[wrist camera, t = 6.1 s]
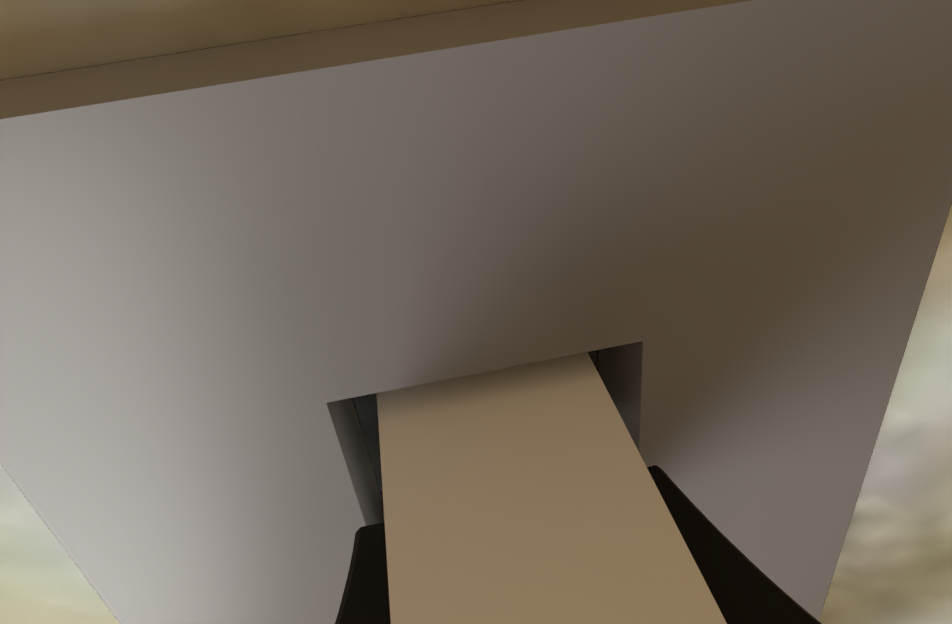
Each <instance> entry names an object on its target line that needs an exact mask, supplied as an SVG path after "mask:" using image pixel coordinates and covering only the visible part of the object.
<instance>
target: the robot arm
mask: <svg viewBox="0 0 952 624" xmlns="http://www.w3.org/2000/svg"><path fill="white" fill-rule="evenodd" d="M647 469H648V471H649V473H650V475H651V477H652V479H653V481H654V482H655V484H656V486H657V488H658V490H659V492H660V494H661V496H662V498H663V500H664V502H665V504H666V506H667V508H668V510H669V512H670V514H671V516H672V518H673V520H674V521H675V523H676V525H677V527H678V529H679V531H680V533H681V535H682V537H683V539H684V541H685V543H686V545H687V547H688V549H689V551H690V553H691V555H692V557H693V558H694V560H695V562H696V564H697V566H698V568H699V570H700V572H701V574H702V576H703V578H704V580H705V582H706V584H707V586H708V588H709V590H710V592H711V594H712V596H713V597H714V599H715V601H716V603H717V605H718V607H719V609H720V611H721V613H722V615H723V617H724V619H725V621H726V623H727V624H821V623H820V622H819V621H818V620H817V619H815V618H814V617H813V616H812V615H811V614H809V613H808V612H807V611H806V610H805V609H804V608H802V607H801V606H800V605H799V604H798V603H797V602H795V601H794V600H793V599H792V598H791V597H790V596H789V595H787V594H786V593H785V592H784V591H783V590H782V589H781V588H779V587H778V586H777V585H776V584H775V583H774V582H773V581H772V580H771V579H769V578H768V577H767V576H766V575H765V574H764V573H763V572H762V571H761V570H760V569H759V568H758V567H756V566H755V565H754V564H753V563H752V562H751V561H750V560H749V559H748V558H747V557H746V556H745V555H744V554H743V553H742V552H741V551H740V550H739V549H738V548H737V547H736V546H734V545H733V544H732V543H731V542H730V541H729V540H728V539H727V538H726V537H725V536H724V535H723V534H722V533H721V532H720V531H719V530H718V529H717V528H716V527H715V526H714V525H713V524H712V523H711V522H710V521H709V520H708V519H707V517H706V516H705V515H704V514H703V513H702V512H701V511H700V510H699V509H698V508H697V507H696V506H695V505H694V504H693V503H692V502H691V501H690V500H689V499H688V497H687V496H686V495H685V494H684V493H683V492H682V491H681V490H680V489H679V488H678V487H677V485H676V484H675V483H674V482H673V481H672V480H671V479H670V478H669V476H668V475H667V474H666V473H665V472H664V471H663V470H662V469H661V468H660V467H658V466H657V465H654V466H649V467H647ZM335 624H391V620H390V603H389V587H388V571H387V554H386V538H385V522H382V523H377V524H373V525H368V526H363V527H360V528H359V529H358V531H357V532H356V533H355V540H354V546H353V552H352V557H351V562H350V567H349V572H348V576H347V580H346V585H345V588H344V592H343V596H342V600H341V604H340V608H339V612H338V615H337V618H336V622H335Z"/></svg>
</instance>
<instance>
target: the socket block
mask: <svg viewBox="0 0 952 624" xmlns="http://www.w3.org/2000/svg"><path fill="white" fill-rule="evenodd" d="M951 204H952V0H520V1H514V2H507V3H501V4H494V5H488V6H481V7H475V8H468V9H462V10H455V11H449V12H442V13H436V14H429V15H423V16H416V17H410V18H403V19H397V20H390V21H384V22H377V23H371V24H364V25H358V26H351V27H345V28H338V29H332V30H325V31H319V32H312V33H306V34H299V35H293V36H286V37H280V38H273V39H267V40H260V41H254V42H247V43H241V44H234V45H228V46H221V47H215V48H208V49H202V50H195V51H189V52H182V53H176V54H169V55H163V56H157V57H150V58H144V59H137V60H131V61H124V62H118V63H111V64H105V65H98V66H92V67H85V68H79V69H72V70H66V71H59V72H53V73H46V74H40V75H33V76H27V77H20V78H14V79H7V80H1V81H0V464H1V466H2V467H3V468H4V470H5V471H6V472H7V474H8V475H9V476H10V478H11V479H12V480H13V482H14V483H15V484H16V486H17V487H18V488H19V490H20V491H21V492H22V494H23V495H24V497H25V498H26V499H27V501H28V502H29V503H30V505H31V506H32V507H33V509H34V510H35V511H36V513H37V514H38V515H39V517H40V518H41V519H42V521H43V522H44V523H45V525H46V526H47V527H48V529H49V530H50V531H51V533H52V534H53V535H54V537H55V538H56V539H57V541H58V542H59V543H60V545H61V546H62V547H63V549H64V550H65V551H66V553H67V554H68V555H69V557H70V558H71V559H72V561H73V562H74V563H75V565H76V566H77V567H78V569H79V570H80V571H81V573H82V574H83V575H84V577H85V578H86V579H87V581H88V582H89V583H90V585H91V586H92V587H93V589H94V590H95V591H96V593H97V594H98V595H99V597H100V598H101V599H102V601H103V602H104V603H105V605H106V606H107V607H108V609H109V610H110V611H111V613H112V614H113V615H114V617H115V618H116V619H117V621H118V622H119V624H335V622H336V618H337V615H338V612H339V608H340V604H341V600H342V596H343V592H344V588H345V585H346V580H347V576H348V572H349V567H350V562H351V557H352V552H353V546H354V540H355V533H356V532H357V531H358V529H359V528H360V527H363V526H368V525H373V524H377V523H382V522H384V506H383V502H382V499H381V495H380V492H379V488H378V485H377V482H376V478H375V475H374V471H373V468H372V465H371V461H370V458H369V454H368V451H367V447H366V444H365V441H364V437H363V434H362V430H361V427H360V423H359V420H358V417H357V413H356V410H355V406H354V403H353V399H352V398H354V397H359V396H364V395H369V394H374V393H379V392H384V391H390V390H395V389H400V388H405V387H410V386H415V385H420V384H425V383H431V382H436V381H441V380H446V379H451V378H456V377H461V376H466V375H472V374H477V373H482V372H487V371H492V370H497V369H502V368H507V367H513V366H518V365H523V364H528V363H533V362H538V361H543V360H548V359H554V358H559V357H564V356H569V355H574V354H579V353H584V352H589V351H595V350H598V351H599V375H600V377H601V379H602V381H603V383H604V385H605V387H606V389H607V391H608V393H609V395H610V397H611V399H612V401H613V403H614V405H615V406H616V408H617V410H618V412H619V414H620V416H621V418H622V420H623V422H624V424H625V426H626V428H627V430H628V432H629V434H630V436H631V438H632V440H633V442H634V443H635V445H636V447H637V449H638V451H639V453H640V455H641V457H642V459H643V461H644V463H645V465H646V467H649V466H654V465H657V466H658V467H660V468H661V469H662V470H663V471H664V472H665V473H666V474H667V475H668V476H669V478H670V479H671V480H672V481H673V482H674V483H675V484H676V485H677V487H678V488H679V489H680V490H681V491H682V492H683V493H684V494H685V495H686V496H687V497H688V499H689V500H690V501H691V502H692V503H693V504H694V505H695V506H696V507H697V508H698V509H699V510H700V511H701V512H702V513H703V514H704V515H705V516H706V517H707V519H708V520H709V521H710V522H711V523H712V524H713V525H714V526H715V527H716V528H717V529H718V530H719V531H720V532H721V533H722V534H723V535H724V536H725V537H726V538H727V539H728V540H729V541H730V542H731V543H732V544H733V545H734V546H736V547H737V548H738V549H739V550H740V551H741V552H742V553H743V554H744V555H745V556H746V557H747V558H748V559H749V560H750V561H751V562H752V563H753V564H754V565H755V566H756V567H758V568H759V569H760V570H761V571H762V572H763V573H764V574H765V575H766V576H767V577H768V578H769V579H771V580H772V581H773V582H774V583H775V584H776V585H777V586H778V587H779V588H781V589H782V590H783V591H784V592H785V593H786V594H787V595H789V596H790V597H791V598H792V599H793V600H794V601H795V602H797V603H798V604H799V605H800V606H801V607H802V608H804V609H805V610H806V611H807V612H808V613H809V614H811V615H812V616H813V617H814V618H815V619H817V620H818V621H819V618H820V615H821V612H822V609H823V605H824V602H825V599H826V596H827V593H828V590H829V587H830V584H831V580H832V577H833V574H834V571H835V568H836V565H837V562H838V558H839V555H840V552H841V549H842V546H843V543H844V540H845V537H846V533H847V530H848V527H849V524H850V521H851V518H852V515H853V511H854V508H855V505H856V502H857V499H858V496H859V493H860V490H861V486H862V483H863V480H864V477H865V474H866V471H867V468H868V464H869V461H870V458H871V455H872V452H873V449H874V446H875V443H876V439H877V436H878V433H879V430H880V427H881V424H882V421H883V417H884V414H885V411H886V408H887V405H888V402H889V399H890V396H891V392H892V389H893V386H894V383H895V380H896V377H897V374H898V370H899V367H900V364H901V361H902V358H903V355H904V352H905V348H906V345H907V342H908V339H909V336H910V333H911V330H912V327H913V323H914V320H915V317H916V314H917V311H918V308H919V305H920V301H921V298H922V295H923V292H924V289H925V286H926V283H927V280H928V276H929V273H930V270H931V267H932V264H933V261H934V258H935V254H936V251H937V248H938V245H939V242H940V239H941V236H942V233H943V229H944V226H945V223H946V220H947V217H948V214H949V211H950V207H951Z"/></svg>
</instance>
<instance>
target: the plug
mask: <svg viewBox="0 0 952 624" xmlns="http://www.w3.org/2000/svg"><path fill="white" fill-rule="evenodd" d="M377 408H378V424H379V440H380V457H381V473H382V489H383V506H384V522H385V538H386V554H387V571H388V587H389V603H390V620H391V624H727V623H726V621H725V619H724V617H723V615H722V613H721V611H720V609H719V607H718V605H717V603H716V601H715V599H714V597H713V596H712V594H711V592H710V590H709V588H708V586H707V584H706V582H705V580H704V578H703V576H702V574H701V572H700V570H699V568H698V566H697V564H696V562H695V560H694V558H693V557H692V555H691V553H690V551H689V549H688V547H687V545H686V543H685V541H684V539H683V537H682V535H681V533H680V531H679V529H678V527H677V525H676V523H675V521H674V520H673V518H672V516H671V514H670V512H669V510H668V508H667V506H666V504H665V502H664V500H663V498H662V496H661V494H660V492H659V490H658V488H657V486H656V484H655V482H654V481H653V479H652V477H651V475H650V473H649V471H648V469H647V467H646V465H645V463H644V461H643V459H642V457H641V455H640V453H639V451H638V449H637V447H636V445H635V443H634V442H633V440H632V438H631V436H630V434H629V432H628V430H627V428H626V426H625V424H624V422H623V420H622V418H621V416H620V414H619V412H618V410H617V408H616V406H615V405H614V403H613V401H612V399H611V397H610V395H609V393H608V391H607V389H606V387H605V385H604V383H603V381H602V379H601V377H600V375H599V373H598V371H597V369H596V367H595V366H594V364H593V362H592V360H591V358H590V356H589V354H588V352H584V353H579V354H574V355H569V356H564V357H559V358H554V359H548V360H543V361H538V362H533V363H528V364H523V365H518V366H513V367H507V368H502V369H497V370H492V371H487V372H482V373H477V374H472V375H466V376H461V377H456V378H451V379H446V380H441V381H436V382H431V383H425V384H420V385H415V386H410V387H405V388H400V389H395V390H390V391H384V392H379V393H377Z"/></svg>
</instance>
